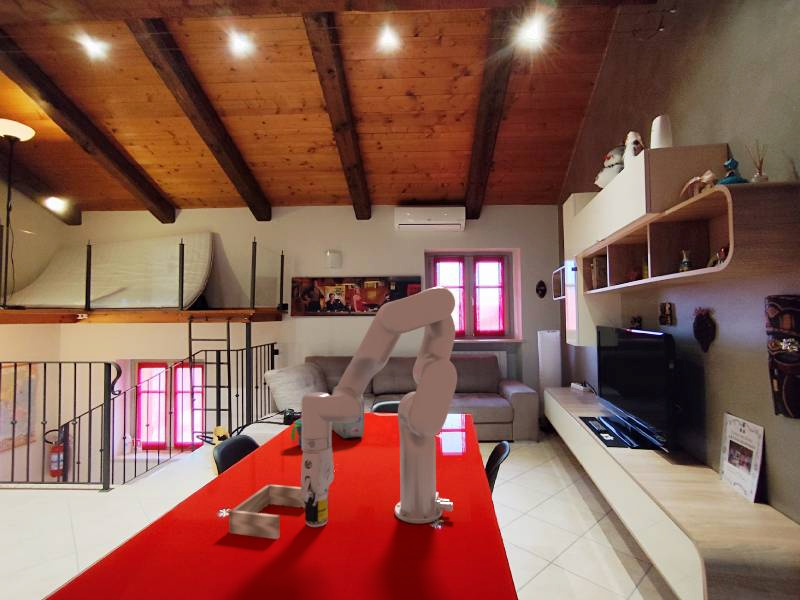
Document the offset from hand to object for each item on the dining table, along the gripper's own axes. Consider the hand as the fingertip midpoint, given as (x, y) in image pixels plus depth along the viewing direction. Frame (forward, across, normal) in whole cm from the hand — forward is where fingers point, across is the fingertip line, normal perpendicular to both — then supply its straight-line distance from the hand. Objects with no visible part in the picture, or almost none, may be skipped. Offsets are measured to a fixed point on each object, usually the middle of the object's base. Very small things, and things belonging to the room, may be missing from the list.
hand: (317, 514), depth 102 cm
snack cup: (+3, +59, +32) cm, 68 cm away
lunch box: (+3, +79, +23) cm, 83 cm away
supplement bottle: (+2, 0, 0) cm, 2 cm away
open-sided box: (+2, 0, +13) cm, 13 cm away
